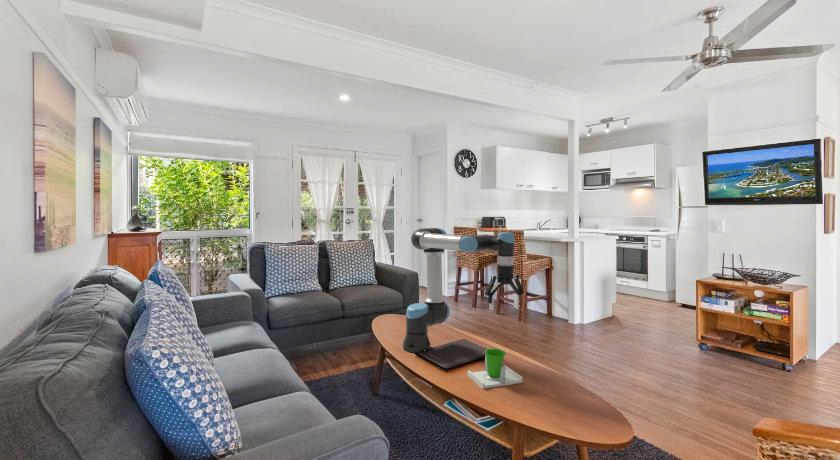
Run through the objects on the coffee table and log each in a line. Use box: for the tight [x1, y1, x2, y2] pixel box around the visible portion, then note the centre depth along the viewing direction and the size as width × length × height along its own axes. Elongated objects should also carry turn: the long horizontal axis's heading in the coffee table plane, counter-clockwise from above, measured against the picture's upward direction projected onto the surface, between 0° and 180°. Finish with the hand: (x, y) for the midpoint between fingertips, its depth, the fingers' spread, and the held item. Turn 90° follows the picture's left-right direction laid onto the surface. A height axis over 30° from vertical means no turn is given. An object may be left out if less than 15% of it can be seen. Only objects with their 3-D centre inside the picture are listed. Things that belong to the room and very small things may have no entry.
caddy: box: [467, 355, 524, 390], centre depth 181 cm, size 16×20×8 cm
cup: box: [484, 348, 506, 378], centre depth 181 cm, size 9×9×11 cm
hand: (503, 309), depth 193 cm, fingers open, 13 cm apart
